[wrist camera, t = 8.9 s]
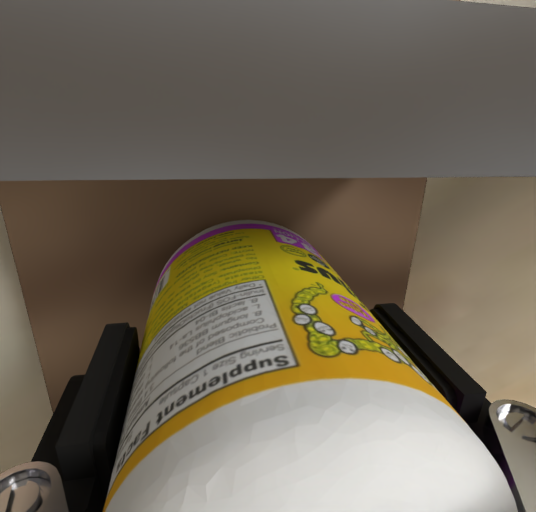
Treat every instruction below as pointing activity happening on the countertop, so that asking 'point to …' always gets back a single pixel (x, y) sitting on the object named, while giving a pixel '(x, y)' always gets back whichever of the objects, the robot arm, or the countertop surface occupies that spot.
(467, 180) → the countertop surface
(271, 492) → the supplement bottle
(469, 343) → the countertop surface
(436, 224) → the countertop surface
